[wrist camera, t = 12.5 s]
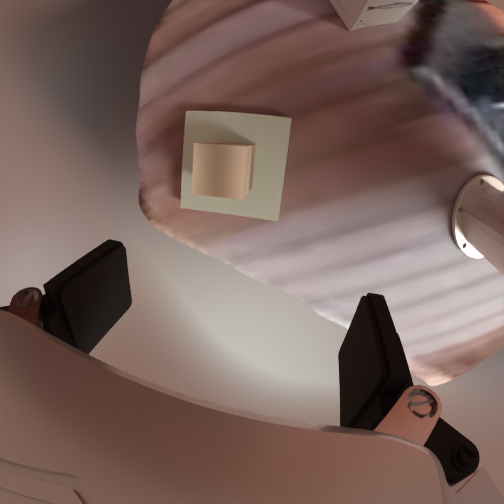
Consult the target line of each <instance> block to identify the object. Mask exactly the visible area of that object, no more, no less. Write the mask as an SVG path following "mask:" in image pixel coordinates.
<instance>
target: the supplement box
mask: <svg viewBox="0 0 504 504" xmlns="http://www.w3.org/2000/svg"><path fill="white" fill-rule="evenodd" d="M329 1H330V3H331V4H332V6H333V7H334V8H335V10H336V11H337V13H338V15H339V16H340V18H341V19H342V21H343V22H344V24H345V26H346V27H347V29H348V30H349V31H353V30H357V29H361V28H365V27H370V26H376V25H382V24H390V23H396V22H397V21H398V20H399V19H400V18H401V17H402V16H404V15H405V14H406V13H407V12H408V11H409V10H410V9H411V8H412V7H413V6H414V5H415V4H416V3H417V2H418V1H419V0H329Z"/></svg>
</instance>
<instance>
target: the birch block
mask: <svg viewBox="0 0 504 504" xmlns="http://www.w3.org/2000/svg"><path fill="white" fill-rule="evenodd" d="M255 153H256V144H249V143H237V142H224V141H206V142H198V143H194V152H193V171H192V194H194V195H204V196H213V197H222V198H231V199H239V200H243V198H244V197H245V196H246V195H247V193H248V192H249V191H250V190H251V188H252V184H253V174H254V163H255Z"/></svg>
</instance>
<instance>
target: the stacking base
mask: <svg viewBox="0 0 504 504" xmlns="http://www.w3.org/2000/svg"><path fill="white" fill-rule="evenodd" d="M291 122H292V118H287V117H279V116H270V115H261V114H250V113H237V112H220V111H186V117H185V129H184V143H183V160H182V181H181V208H185V209H193V210H201V211H209V212H216V213H224V214H231V215H238V216H245V217H252V218H259V219H265V220H272V221H278V218H279V213H280V206H281V198H282V191H283V184H284V177H285V169H286V162H287V154H288V146H289V138H290V130H291ZM206 141H224V142H237V143H249V144H256V153H255V163H254V174H253V184H252V188H251V190H250V191H249V192H248V193H247V195H246V196H245V197H244V198H243V200H239V199H231V198H222V197H213V196H204V195H194V194H192V171H193V152H194V143H198V142H206Z"/></svg>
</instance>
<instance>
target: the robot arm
mask: <svg viewBox="0 0 504 504" xmlns="http://www.w3.org/2000/svg"><path fill="white" fill-rule="evenodd" d="M452 233H453V236H454V240H455V242H456V244H457V246H458V247H459V249H460V250H461V251H462V252H463V253H465V254H466V255H467V256H469V257H472V258H483V257H485V258H486V259H487V260H488V261H489V262H490V263H491V264H492V265H493V266H494V267H496V268H497V269H498V270H499V271H500V272H501V273H502V274H503V275H504V184H503V183H502V182H501V181H500V180H499V179H497V178H496V177H494V176H491V175H486V174H482V175H478V176H475V177H473V178H472V179H470V180H469V181H468V182H467V183H466V184H465V185H464V186H463V188H462V189H461V191H460V192H459V194H458V197H457V199H456V201H455V205H454V208H453V214H452ZM43 286H44V290H45V293H46V294H44V295H42V292H41V290H39V289H38V288H35V287H29V288H25V289H22V290H20V291H19V292H17V293H16V294H15V295H14V296H13V298H12V300H11V302H10V305H9V306H4V307H0V504H504V498H503V496H502V495H501V493H500V491H499V490H498V488H497V487H496V485H495V484H494V482H493V481H492V480H491V478H490V477H489V475H488V474H487V472H486V471H485V469H484V468H483V467H481V468H480V469H479V468H478V464H479V452H478V450H477V448H476V446H475V445H474V444H473V443H472V442H471V441H470V440H468V439H467V438H466V437H465V436H463V435H462V434H460V433H459V432H458V431H457V430H455V429H454V428H453V427H452V426H450V425H449V424H448V423H446V422H445V421H444V420H443V419H441V418H440V414H441V410H442V406H441V402H440V399H439V397H438V396H437V395H436V393H435V392H433V391H432V390H431V389H429V388H427V387H425V386H421V385H415V386H414V385H413V382H412V378H411V374H410V370H409V367H408V363H407V360H406V357H405V353H404V350H403V347H402V344H401V340H400V337H399V335H398V333H397V332H396V329H395V326H394V323H393V321H392V318H391V315H390V312H389V309H388V306H387V304H386V301H385V298H384V296H383V295H379V294H374V293H368V294H367V295H366V296H362V297H361V299H360V302H359V305H358V307H357V310H356V312H355V315H354V317H353V320H352V322H351V325H350V327H349V329H348V332H347V334H346V336H345V339H344V341H343V343H342V346H341V348H340V351H339V357H338V359H339V382H340V426H331V425H322V424H315V423H307V422H301V421H295V420H289V419H283V418H278V417H271V416H267V415H262V414H256V413H252V412H248V411H243V410H239V409H235V408H231V407H227V406H223V405H219V404H216V403H212V402H208V401H205V400H202V399H199V398H195V397H192V396H189V395H186V394H182V393H180V392H177V391H174V390H171V389H168V388H165V387H162V386H160V385H157V384H154V383H152V382H149V381H147V380H144V379H141V378H139V377H136V376H134V375H131V374H129V373H127V372H124V371H122V370H120V369H118V368H115V367H113V366H111V365H109V364H107V363H105V362H102V361H100V360H98V359H96V358H94V357H92V356H90V355H88V354H89V353H90V352H91V351H92V349H93V348H94V347H95V346H96V345H97V344H98V342H99V341H100V340H101V339H102V338H103V337H104V336H105V335H106V333H107V332H108V331H109V330H110V329H111V328H112V327H113V325H114V324H115V323H116V322H117V321H118V320H119V319H120V318H121V317H122V316H123V314H124V313H125V312H126V311H127V310H128V309H129V307H130V306H131V303H132V298H131V290H130V283H129V275H128V267H127V256H126V248H125V247H124V246H123V244H122V243H121V242H119V241H115V240H110V239H109V240H107V241H106V242H104V243H102V244H101V245H99V246H98V247H96V248H95V249H93V250H92V251H90V252H89V253H87V254H86V255H84V256H83V257H81V258H80V259H79V260H77V261H76V262H74V263H73V264H71V265H70V266H69V267H67V268H66V269H64V270H63V271H62V272H60V273H59V274H57V275H56V276H55V277H53V278H52V279H51V280H49V281H48V282H47V283H45V284H44V285H43Z"/></svg>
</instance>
